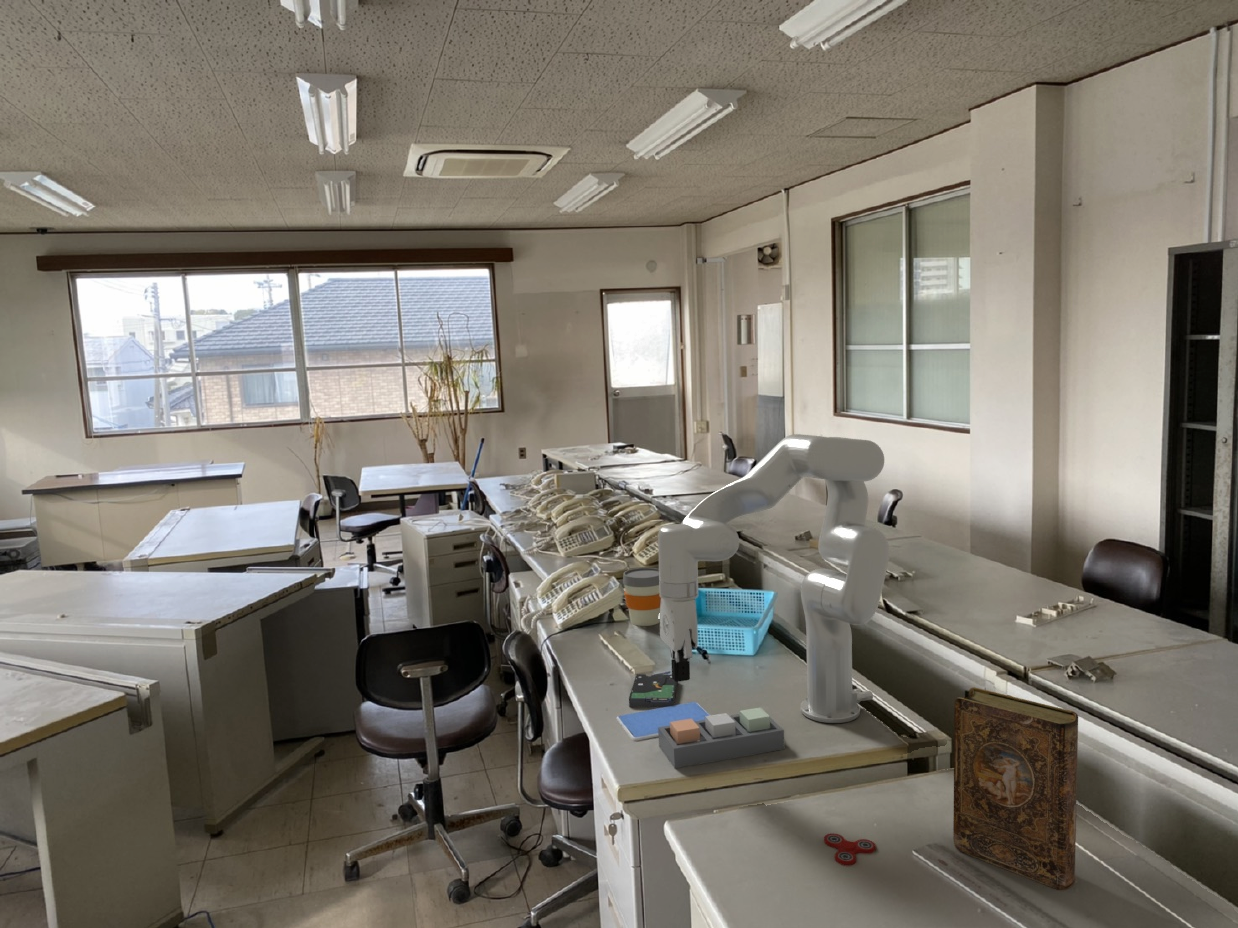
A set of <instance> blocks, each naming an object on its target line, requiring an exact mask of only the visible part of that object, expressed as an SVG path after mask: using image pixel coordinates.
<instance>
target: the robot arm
mask: <svg viewBox="0 0 1238 928" xmlns="http://www.w3.org/2000/svg"><path fill="white" fill-rule="evenodd" d="M884 466H885V454H884V452H883V450H882V449H881V447H880V446H879V445H878V444H877V443H876V442H874V441H871V440H870V439H869V440H867V439H862V438H861V439H858V438H849V437H842V436H841V437H838V436H829V437H828V436H823V435H821V436H820V435H819V436H818V435H812V434H811V435H810V434H801V433H799V434H798V433H795V434H790V435H787V436H785V437H784V438H783V439H781V440H780V441H779V442H778V443H777V444H776V445H775V446H773V448H772V449H770V451H769V452H768V453H766V455H765V456H764V457H762V458H761V460H759V462H757V463H756V464H755V466H753V468H751V469H750V470H749V471H748V472H747V473H746V474H744V476H742V477H741V478H739V479H737V480H735V481H733V482H731V483H729V484H727V485H726V486H724V487H722V488H720V489H718V490H717V491H715V492H713V493H711V494H710V495H708V496H706V497H705V498H704V499H702V501H700V502H699V503H698V504H697V505H696V506H694V508H693V509H692V510H691V511H690V512H688V514H687V515H686V516H685V517H684V519H683V520H682V521H681V523H675V524H674V523H673V524H668V525H664V526H662V527H661V528H659V531H658V532H657V541H658V542H657V545H658V548H657V550H658V569H659V589H660V597H661V605H660V622H659V637H660V639H661V641H662V642H664V644H665V645H666V646H667V647H668V648H669V649H670V657H671V675H672V679H673V680H674V681H675V682H678V683H679V682H684V681H690V679H691V672H690V671H691V668H690V666H691V665H690V661H691V659H692V658H693V650H696V649H697V648H698V645H699V644H698V642H699V640H698V639H699V634H698V633H699V632H698V631H699V629H698V615H697V604H696V599H697V598H698V597H699V569H698V568H699V567H698V566H699V563H698V562H721V561H722V562H723V561H725V560H728V559H730V558H732V557H733V556H734V555H735V554H736V552H737V551H738V550H739V547H740V538H739V534H738V532H737V531H736V529H734V528H733V527H732V526H731V525H729V524H727V523H729V522H731V521H733V520H734V519H738V518H739V517H742V516H746V515H751V514H756V513H759V512H760V513H761V512H763V511H764V512H765V511H766V510H767V511H768V510H770V509H772V508H774V507H775V506H776V505H777V504H778V503H779V502H780V501H782V499H783V498H784V497H786V495H787V494H788V493H789V492H790V491H791V490H792V489H793V488H794V487H795V486H796V485H798V483H799V482H800V481H801V480H802V479H803V478H805V477H806V478H811V479H817V480H819V479H820V480H824V483H825V485H826V489H827V501H826V507H825V512H824V516H823V519H822V520H823V521H822V525H821V529H820V534H819V539H818V545H817V546H818V548H817V549H818V552H819V555H820V557H821V558H822V559H824V560H825V561H826V562H828V563H831V564H834V565H837V566H840V567H843V568H847V570H846V573H844V572H841V571H838V570H835V569H831V568H816V569H814V570H810V571H809V573H807V574H806V575H805V576H804V578H803V581H802V583H801V587H800V597H801V598H800V599H801V603H802V609H803V612H804V618H805V628H806V629H805V630H806V631H805V633H806V635H805V636H806V638H805V639H806V684H807V685H806V686H807V687H806V688H807V690H806V691H807V692H806V693H807V698H805V699H804V700H802V702H801V703H800V711H801V712H800V713H801V714H802V715H804V716H805V717H806V718H808V719H810V720H813V721H815V722H819V723H826V724H843V723H847V722H851V721H854V720H855V719H857V718H858V717H859V716H860V714H861V707H860V705H859V704H860V703H861V701H871V700H873V699H874V694H873V691H871V690H866V691H865V690H864V691H862V690H861V688H854V689H853V652H852V651H853V650H852V649H853V648H852V647H853V646H852V644H853V639H852V638H853V636H852V629H851V625H855V626H861V625H865V624H867V623H868V622H870V621H871V620H872V618H873V617H874V616H875V614H876V612H877V609H878V607H879V605H880V601H881V597H882V592H883V588H884V584H885V579H886V575H887V569H888V566H889V560H890V545H889V541H888V538H887V537H886V535H885V534H884V532H882V531H881V530H879V529H877V528H876V527H874V526H873V527H872V526H869V525H866V519H867V513H868V509H869V492H868V489H867V485H866V484H865V482H869V481H872V480H874V479H875V478H876V477H879V475H880V474H881V472H882V471H883V469H884ZM692 649H693V650H692Z"/></svg>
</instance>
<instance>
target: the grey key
mask: <svg viewBox="0 0 1238 928" xmlns="http://www.w3.org/2000/svg"><path fill="white" fill-rule="evenodd" d="M709 715H710V716H705V727H706V729H707V730H708V732H709V733H710V734H711V735H712V736H713V737H714V738H715V737H721V736H727V735H732V734H735V721H734V720H733V719H732V718H731V717H730V716H731V715H729V714H728V713H727V712H723V713H717V714H709Z"/></svg>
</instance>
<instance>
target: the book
mask: <svg viewBox="0 0 1238 928" xmlns="http://www.w3.org/2000/svg"><path fill="white" fill-rule="evenodd" d="M953 714H954V716H953V717H954V720H953V721H954V723H953V725H954V726H953V728H954V729H953V730H954V733H953V736H954V737H953V739H954V740H953V745H954V746H953V828H952V830H953V832H952V833H953V843H954V846H955V849H956V850H957V851H958V852H961V853H963V854H966V855H968V856H970V857H973V858H975V859H977V860H980V861H982V862H985V863H988V864H991V865H992V866H995V867H997V868H1000V869H1004V870H1006V871H1008V872H1011V873H1014V874H1017V875H1019V876H1022V877H1024V878H1026V879H1029V880H1032V881H1035V882H1037V883H1040V884H1041V885H1045V886H1047V887H1050V888H1052V889H1055V890H1058V891H1063V890H1067V889H1070V888H1072V887H1073V885H1074V884H1075V883H1076V882H1075V881H1076V843H1077V842H1076V837H1077V835H1076V834H1077V832H1076V831H1077V792H1078V789H1077V787H1078V785H1077V784H1078V783H1077V782H1078V747H1079V743H1078V741H1079V738H1078V737H1079V715H1078V713H1076V712H1075V711H1073V710H1069V709H1066V708H1061V707H1057V706H1053V705H1048V704H1044V703H1041V702H1037V701H1032V700H1029V699H1024V698H1019V697H1015V696H1011V695H1007V694H1004V693H999V692H995V691H992V690H987V689H984V688H983V689H982V688H979V687H974V686H973V687H971V688H969V691H968V696H966V697H965V696H964V697H957V698H956V699H955V700H954V713H953Z"/></svg>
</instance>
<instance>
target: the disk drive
mask: <svg viewBox="0 0 1238 928" xmlns="http://www.w3.org/2000/svg"><path fill="white" fill-rule="evenodd" d="M678 686H679V681H678V682H675V681H674V680H673V679H672V674H659V673H657V674H652V675H647V674H646V673H641V674H640V673H637V674H636V675H635V677H634V680H633V684H632V688H631V690H630V693H629V696H628V706H629V708H653V709H658V708H663V707H669V706H674V705H675V702H676V695H677V690H678Z"/></svg>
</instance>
